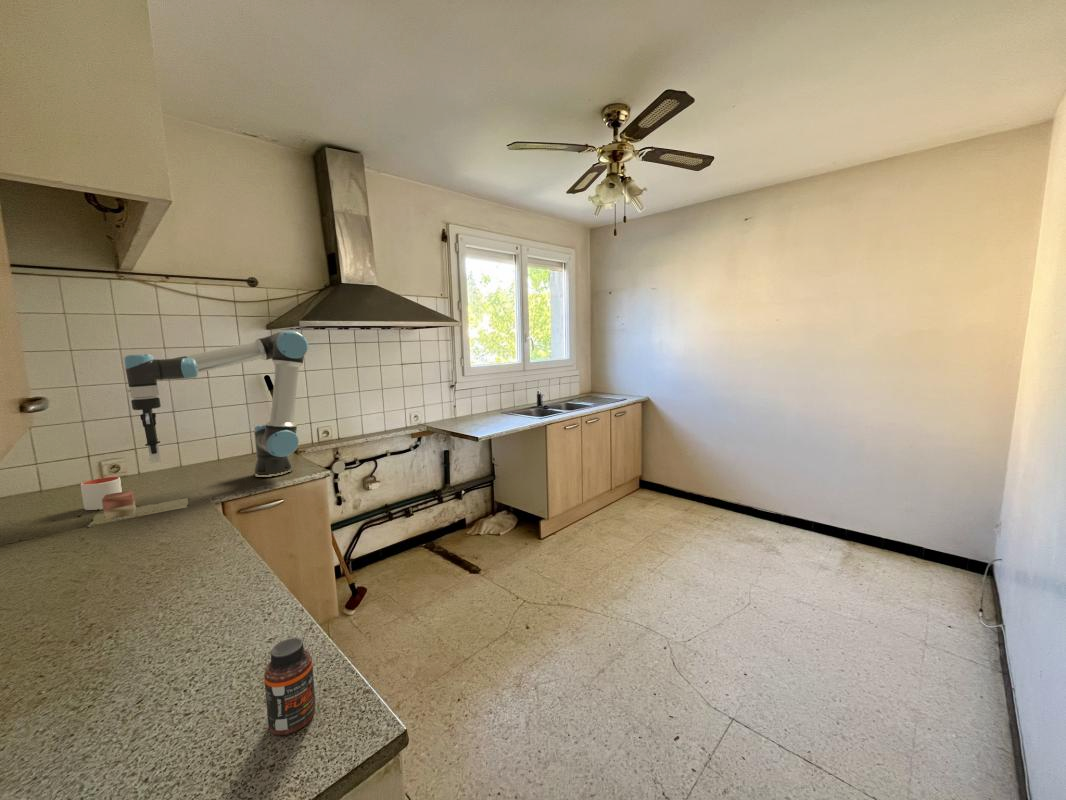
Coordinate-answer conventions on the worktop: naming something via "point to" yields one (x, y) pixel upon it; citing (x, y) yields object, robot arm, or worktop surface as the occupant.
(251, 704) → the worktop surface
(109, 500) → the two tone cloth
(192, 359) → the robot arm
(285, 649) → the supplement bottle
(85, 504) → the cup
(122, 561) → the worktop surface
